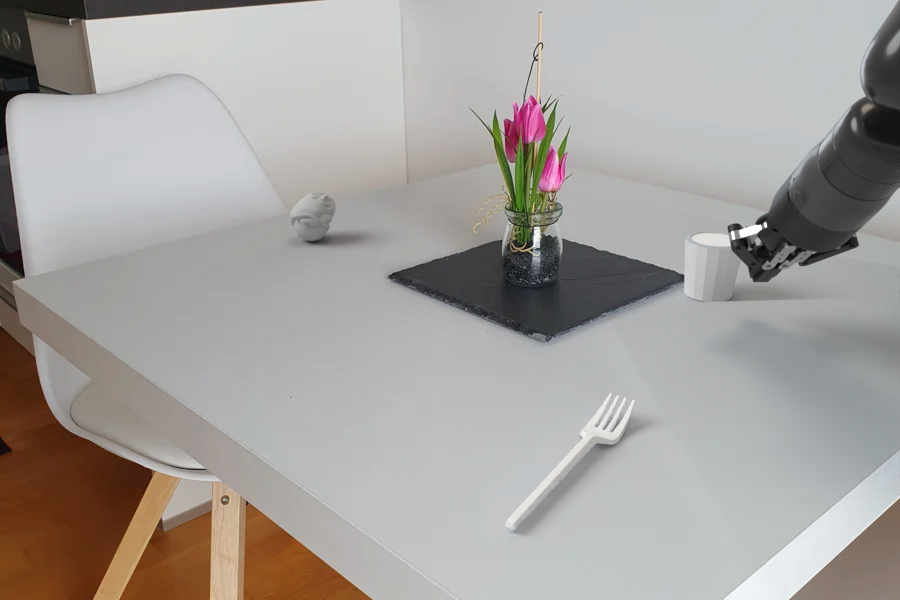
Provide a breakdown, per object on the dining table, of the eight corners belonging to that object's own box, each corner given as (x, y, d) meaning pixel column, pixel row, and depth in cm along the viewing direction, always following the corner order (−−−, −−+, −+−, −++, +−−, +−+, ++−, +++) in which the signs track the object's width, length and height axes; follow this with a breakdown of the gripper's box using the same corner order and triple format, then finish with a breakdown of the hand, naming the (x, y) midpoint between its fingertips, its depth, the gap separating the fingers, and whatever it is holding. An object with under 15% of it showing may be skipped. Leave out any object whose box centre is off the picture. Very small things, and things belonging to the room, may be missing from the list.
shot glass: (714, 309, 97) (722, 252, 95) (667, 291, 102) (673, 237, 100) (748, 295, 101) (757, 240, 99) (701, 279, 106) (708, 226, 104)
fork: (489, 524, 61) (490, 502, 60) (604, 409, 76) (605, 391, 75) (529, 540, 59) (530, 518, 58) (638, 419, 74) (640, 401, 74)
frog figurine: (346, 238, 121) (344, 192, 119) (307, 250, 117) (304, 201, 114) (320, 230, 125) (317, 184, 123) (281, 240, 120) (278, 193, 118)
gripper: (898, 153, 74) (811, 241, 90) (751, 155, 73) (690, 243, 89) (919, 228, 71) (826, 305, 87) (767, 231, 70) (701, 308, 86)
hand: (757, 274), depth 88 cm, fingers closed
